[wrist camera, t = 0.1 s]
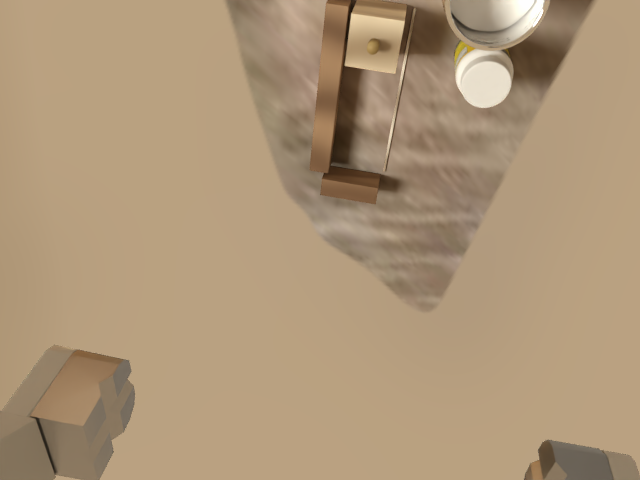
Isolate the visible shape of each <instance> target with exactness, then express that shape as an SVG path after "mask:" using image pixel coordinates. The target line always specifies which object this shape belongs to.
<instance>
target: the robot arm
mask: <svg viewBox="0 0 640 480" xmlns="http://www.w3.org/2000/svg"><path fill="white" fill-rule="evenodd" d="M130 373H131V367H130V363H129V360H124V359H120V358H115V357H110V356H106V355H101V354H96V353H91V352H87V351H82V350H78V349H73V348H68V347H63V346H58V345H53V346H52V347H50V348H49V349H48V350H46V351H45V352H44V354H43V355H42V356H41V358H40V359H39V360H38V362H37V363H36V365H35V366H34V367H33V369H32V370H31V371H30V373H29V374H28V375H27V377H26V378H25V379H24V381H23V382H22V384H21V385H20V387H19V388H18V389H17V390H16V392H15V393H14V395H13V396H12V397H11V398H10V400H9V401H8V402H7V404H6V405H5V407H4V408H3V409H2V411H0V480H53V479H55V477H56V476H55V475H59V476H65V477H71V478H76V479H82V480H99V479H100V477H101V475H102V474H103V472H104V470H105V468H106V466H107V464H108V462H109V460H110V458H111V456H112V454H113V452H114V451H113V446H112V441H111V440H112V439H114V438H115V437H117V436H118V435H120V434H121V433H123V432H124V430H125V428H126V426H127V424H128V422H129V420H130V417H131V414H132V410H133V407H134V400H135V391H134V386H133V385H132V384H131V383H130V382H129V381H128V379H127V378H128V377H129V375H130ZM538 453H539V460H537V461H535V462H532V463H531V464H530V465H529V467H528V469H527V471H526V473H525V478H524V480H640V475H639V472H638V469H637V466H636V462H635V461H634V460H633V458H632V457H631V456H629V455H626V454H620V453H615V452H609V451H604V450H600V449H597V448H592V447H586V446H580V445H575V444H569V443H563V442H558V441H552V440H546V441H544V442H542V444H541V446H540V447H539V449H538Z"/></svg>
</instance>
